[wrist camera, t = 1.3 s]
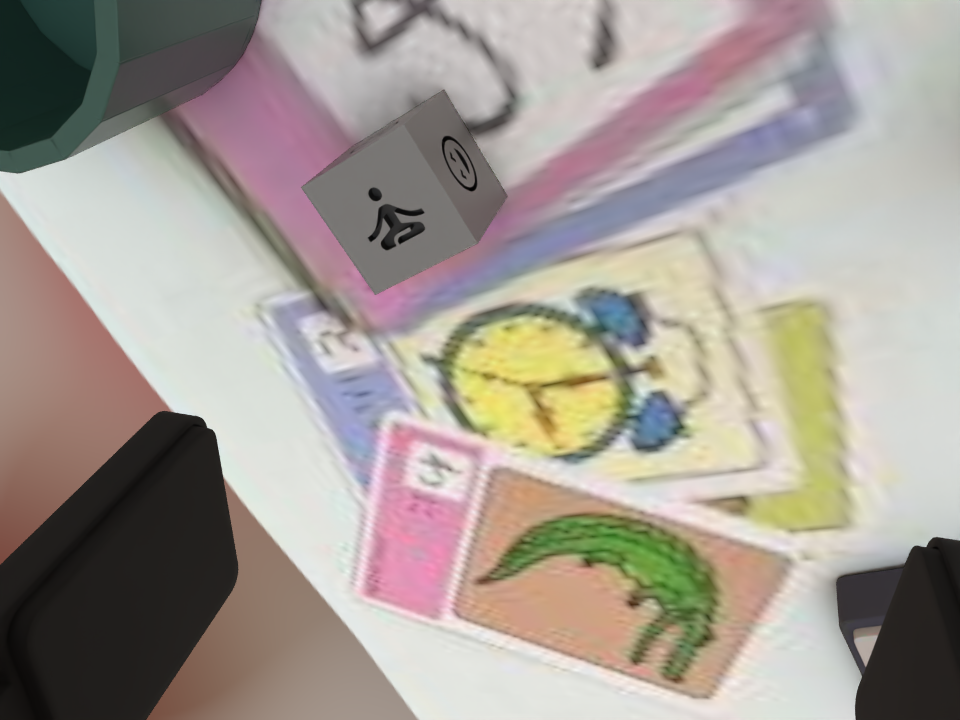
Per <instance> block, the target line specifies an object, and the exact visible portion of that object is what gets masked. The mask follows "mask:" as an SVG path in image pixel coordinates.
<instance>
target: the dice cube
mask: <svg viewBox="0 0 960 720" xmlns="http://www.w3.org/2000/svg"><path fill="white" fill-rule="evenodd" d="M301 188H302V190H303V191H304V192H305V194H306V195H307V197H308V198H309V200H310V201H311V203H312V204H313V205H314V207H315V208H316V210H317V211H318V213H319V214H320V216H321V217H322V219H323V220H324V221H325V223H326V224H327V226H328V227H329V229H330V230H331V232H332V233H333V234H334V236H335V237H336V239H337V240H338V242H339V243H340V245H341V246H342V248H343V249H344V250H345V252H346V253H347V255H348V256H349V258H350V259H351V261H352V262H353V263H354V265H355V266H356V268H357V269H358V271H359V272H360V274H361V275H362V277H363V278H364V279H365V281H366V282H367V284H368V285H369V287H370V288H371V290H372V291H373V292H374V294H375V295H376V294H378V293H380V292H382V291H384V290H386V289H388V288H390V287H392V286H394V285H396V284H398V283H400V282H402V281H404V280H406V279H408V278H410V277H412V276H414V275H416V274H418V273H420V272H422V271H424V270H426V269H428V268H430V267H432V266H434V265H436V264H438V263H440V262H442V261H444V260H446V259H448V258H450V257H452V256H454V255H456V254H458V253H460V252H462V251H464V250H466V249H468V248H470V247H472V246H474V245H476V244H478V243H479V241H480V239H481V238H482V236H483V235H484V233H485V231H486V230H487V228H488V227H489V225H490V223H491V222H492V220H493V219H494V217H495V215H496V214H497V212H498V211H499V209H500V207H501V206H502V204H503V203H504V201H505V199H506V198H507V195H506V193H505V191H504V190H503V188H502V186H501V185H500V183H499V181H498V180H497V178H496V176H495V175H494V173H493V171H492V170H491V168H490V166H489V165H488V163H487V161H486V160H485V158H484V156H483V155H482V153H481V151H480V150H479V148H478V146H477V144H476V143H475V141H474V139H473V138H472V136H471V134H470V133H469V131H468V129H467V128H466V126H465V124H464V123H463V121H462V119H461V118H460V116H459V114H458V113H457V111H456V109H455V108H454V106H453V104H452V103H451V101H450V99H449V97H448V96H447V94H446V92H445V91H444V90H443V91H441V92H440V93H438V94H436V95H435V96H433V97H432V98H430V99H428V100H427V101H425V102H423V103H422V104H420V105H419V106H417V107H415V108H414V109H412V110H411V111H409V112H407V113H406V114H404V115H402V116H401V117H399V118H398V119H396V120H394V121H393V122H391V123H390V124H388V125H386V126H385V127H383V128H381V129H380V130H378V131H377V132H375V133H373V134H372V135H370V136H369V137H367V138H365V139H364V140H362V141H361V142H359V143H357V144H356V145H354V146H352V147H351V148H350V149H348V150H347V151H346V152H345V153H343V154H342V155H341V156H340V157H338V158H337V159H336V160H335V161H333V162H332V163H331V164H330V165H328V166H327V167H326V168H325V169H323V170H322V171H321V172H320V173H318V174H317V175H316V176H315V177H313V178H312V179H311V180H310V181H308V182H307V183H306V184H305V185H303V186H302V187H301Z"/></svg>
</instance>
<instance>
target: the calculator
mask: <svg viewBox="0 0 960 720" xmlns="http://www.w3.org/2000/svg"><path fill="white" fill-rule="evenodd" d="M903 569H904V568H899V569H892V570H885V571H878V572H871V573H865V574H858V575H851V576H845V577H841V578H839V579H838V580H837V582H836V587H837V602H838V616H839V626H840V629H841V632H842V634H843V636H844V638H845V640H846V642H847V644H848V647H849V649H850V651H851V653H852V655H853V657H854V659H855V662H856V664H857V666H858V668H859V670H860V672H861V674H862V676H863V674H864V671H865V668H866V666H867V663H868V661H869V658H870V655H871V653H872V650H873V647H874V645H875V642H876V640H877V637H878V634H879V632H880V629H881V626H882V624H883V621H884V619H885V616H886V613H887V611H888V608H889V606H890V603H891V600H892V598H893V595H894V592H895V590H896V587H897V585H898V582H899V579H900V577H901V574H902V571H903Z"/></svg>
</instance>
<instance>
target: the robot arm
mask: <svg viewBox="0 0 960 720" xmlns="http://www.w3.org/2000/svg"><path fill="white" fill-rule="evenodd" d="M237 575H238V561H237V556H236V550H235V544H234V538H233V532H232V527H231V520H230V515H229V509H228V504H227V497H226V491H225V486H224V480H223V474H222V468H221V462H220V456H219V450H218V445H217V439H216V435H215V433H214V431H213V430H212V429H209V428H207V426H206V423H205V421H204V420H203V419H202V418H200V417H198V416H192V415H186V414H180V413H174V412H168V411H162V412H158V413H157V414H156V415H154V416H153V417H152V418H151V419H150V420H149V421H148V422H147V423H146V424H145V425H144V426H143V427H142V428H141V429H140V430H139V431H138V432H137V433H136V434H135V435H134V436H133V437H132V438H130V439H129V440H128V441H127V442H126V443H125V444H124V445H123V446H122V447H121V448H120V449H119V450H118V451H117V452H116V453H115V454H114V455H113V456H112V457H111V458H110V459H109V460H108V461H107V462H106V463H105V464H104V465H103V466H102V467H101V468H100V469H98V470H97V471H96V472H95V473H94V474H93V475H92V476H91V477H90V478H89V479H88V480H87V481H86V482H85V483H84V484H83V485H82V486H81V487H80V488H79V489H78V490H77V491H76V492H75V493H74V494H73V495H72V496H71V497H70V498H69V499H68V500H67V501H66V502H65V503H63V505H61V506H60V507H59V508H58V509H57V510H56V511H55V512H54V513H53V514H52V515H51V516H50V517H49V518H48V519H47V520H46V521H45V522H44V523H43V524H42V525H41V526H40V527H39V528H38V529H37V530H36V531H35V532H34V533H33V534H32V535H30V537H28V539H26V540H25V541H24V542H23V544H21V545H20V546H19V547H18V548H17V549H16V550H15V551H14V552H13V553H12V554H11V555H10V556H9V557H8V558H7V559H6V560H5V561H4V562H3V563H2V564H1V565H0V720H146V719H147V718H148V716H149V715H150V713H151V712H152V710H153V709H154V707H155V706H156V704H157V703H158V701H159V700H160V698H161V697H162V695H163V694H164V692H165V691H166V689H167V688H168V686H169V685H170V683H171V682H172V680H173V679H174V677H175V676H176V674H177V673H178V671H179V670H180V668H181V667H182V665H183V664H184V662H185V661H186V659H187V658H188V656H189V655H190V653H191V652H192V650H193V648H194V647H195V646H196V644H197V643H198V641H199V640H200V638H201V636H202V635H203V634H204V632H205V631H206V629H207V628H208V626H209V625H210V623H211V622H212V620H213V619H214V617H215V615H216V614H217V613H218V611H219V610H220V608H221V607H222V605H223V604H224V602H225V601H226V599H227V598H228V596H229V595H230V593H231V591H232V590H233V588H234V586H235V583H236V580H237ZM855 716H856V720H960V541H958V540H952V539H945V538H939V537H935V538H932V539H931V540H930V541H929V543H928V545H927V547H921V546H914V547H913V548H912V549H911V551H910V553H909V556H908V558H907V561H906V564H905V566H904V569H903V571H902V574H901V577H900V579H899V582H898V585H897V587H896V590H895V592H894V595H893V598H892V600H891V603H890V606H889V608H888V611H887V613H886V616H885V619H884V621H883V624H882V626H881V629H880V632H879V634H878V637H877V640H876V642H875V645H874V647H873V650H872V653H871V655H870V658H869V661H868V663H867V666H866V668H865V671H864V674H863V676H862V679H861V682H860V684H859V687H858V690H857V694H856V702H855Z"/></svg>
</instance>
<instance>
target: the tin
mask: <svg viewBox="0 0 960 720" xmlns="http://www.w3.org/2000/svg"><path fill="white" fill-rule="evenodd" d="M260 4H261V0H0V171H3V172H10V173H23V172H26V171H30V170H33V169H36V168H39V167H43V166H46V165H49V164H52V163H55V162H59V161H62V160H65V159H67V158H69V157H72V156H74V155H76V154H78V153H80V152H82V151H84V150H86V149H88V148H91V147H93V146H95V145H97V144H99V143H101V142H103V141H105V140H107V139H110V138H112V137H114V136H116V135H118V134H120V133H122V132H124V131H126V130H129V129H131V128H133V127H135V126H137V125H139V124H141V123H143V122H145V121H147V120H150V119H152V118H154V117H156V116H158V115H160V114H162V113H164V112H166V111H169V110H171V109H173V108H175V107H177V106H179V105H181V104H183V103H185V102H188V101H190V100H192V99H194V98H196V97H198V96H200V95H202V94H204V93H205V92H206V91H207V90H208V89H209V88H211V87H212V86H213V85H215V84H216V83H218V82H219V81H220V80H222V79H223V78H224V77H225V76H226V75H227V74H228V73H229V71H230V70H231V69H232V68H233V67H234V66H235V64H236V63H237V62H238V60H239V59H240V57H241V56H242V55H243V53H244V51H245V49H246V47H247V45H248V43H249V41H250V39H251V37H252V34H253V31H254V28H255V25H256V22H257V19H258V14H259V9H260Z"/></svg>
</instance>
